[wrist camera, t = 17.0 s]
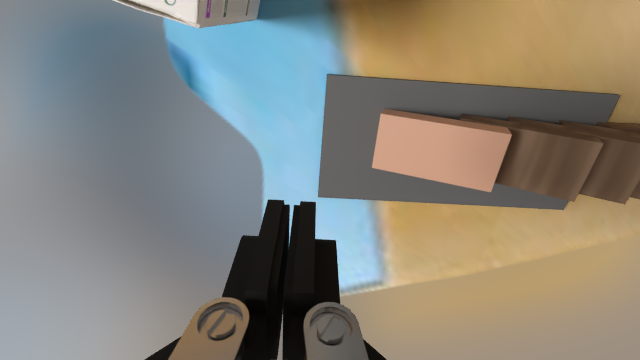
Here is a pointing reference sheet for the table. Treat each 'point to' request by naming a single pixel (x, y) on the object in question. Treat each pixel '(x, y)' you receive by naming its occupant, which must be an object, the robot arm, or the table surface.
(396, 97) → the mat
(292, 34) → the table surface
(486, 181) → the domino
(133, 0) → the syrup box
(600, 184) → the domino
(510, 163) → the domino
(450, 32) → the table surface
